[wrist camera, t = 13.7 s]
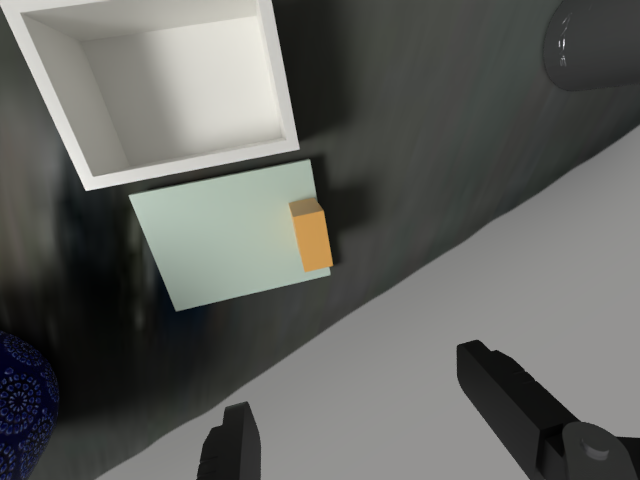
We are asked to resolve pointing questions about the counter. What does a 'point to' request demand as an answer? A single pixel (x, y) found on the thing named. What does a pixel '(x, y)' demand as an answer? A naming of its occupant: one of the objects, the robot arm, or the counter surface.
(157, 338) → the counter surface
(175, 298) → the lid
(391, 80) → the counter surface
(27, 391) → the planter
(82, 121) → the tub
